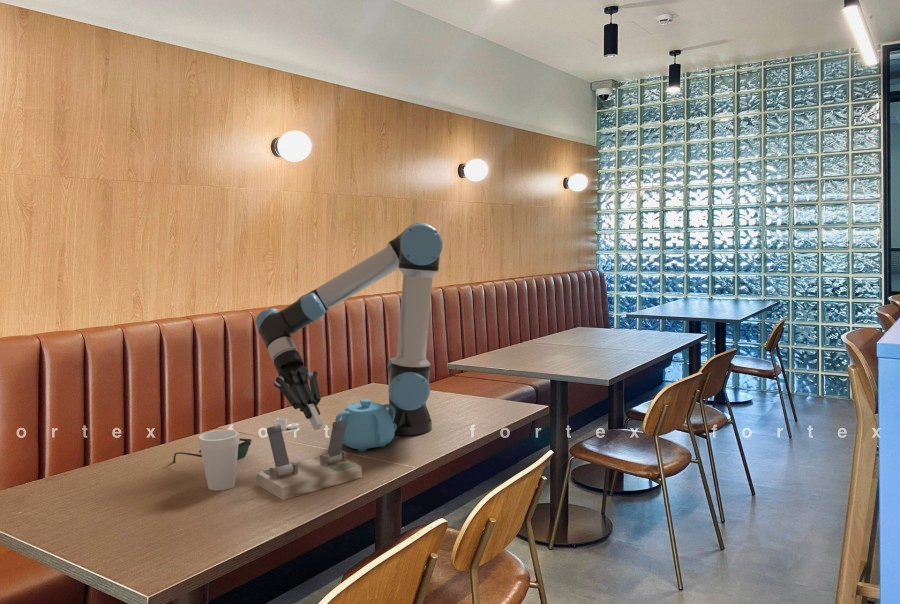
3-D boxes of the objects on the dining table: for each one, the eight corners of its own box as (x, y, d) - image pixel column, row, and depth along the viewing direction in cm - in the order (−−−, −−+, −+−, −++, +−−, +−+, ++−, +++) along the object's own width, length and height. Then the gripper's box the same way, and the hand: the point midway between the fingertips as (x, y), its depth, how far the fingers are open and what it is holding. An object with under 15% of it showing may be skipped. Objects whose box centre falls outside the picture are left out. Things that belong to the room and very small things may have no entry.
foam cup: (199, 494, 168) (197, 442, 167) (202, 481, 177) (200, 431, 176) (241, 490, 171) (238, 438, 169) (241, 477, 179) (239, 428, 178)
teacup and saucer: (300, 427, 226) (300, 415, 226) (292, 434, 218) (292, 422, 218) (274, 427, 227) (274, 415, 227) (265, 434, 219) (265, 421, 219)
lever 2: (336, 456, 183) (344, 417, 178) (341, 462, 181) (349, 422, 177) (323, 460, 180) (330, 420, 176) (328, 465, 179) (335, 425, 174)
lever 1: (290, 473, 173) (278, 426, 176) (294, 471, 171) (282, 423, 174) (275, 477, 171) (264, 429, 173) (279, 475, 169) (267, 426, 172)
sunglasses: (207, 449, 205) (206, 432, 205) (253, 455, 198) (252, 438, 198) (164, 466, 190) (162, 448, 190) (212, 474, 183) (211, 455, 183)
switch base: (333, 464, 189) (332, 444, 188) (361, 477, 178) (361, 456, 177) (256, 484, 174) (255, 463, 174) (282, 499, 164) (281, 477, 163)
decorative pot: (354, 435, 215) (352, 392, 214) (402, 439, 210) (401, 395, 209) (329, 451, 200) (327, 405, 198) (381, 456, 195) (379, 408, 193)
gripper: (302, 362, 202) (334, 429, 192) (260, 368, 194) (292, 439, 183) (310, 346, 198) (344, 414, 187) (268, 351, 189) (301, 424, 179)
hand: (318, 426), depth 185 cm, fingers closed
